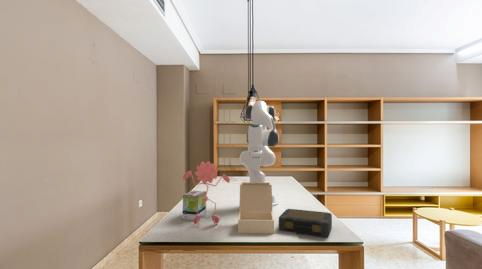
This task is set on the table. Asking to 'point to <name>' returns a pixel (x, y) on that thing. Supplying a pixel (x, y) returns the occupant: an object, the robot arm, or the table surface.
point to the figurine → (206, 175)
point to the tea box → (193, 204)
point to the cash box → (306, 222)
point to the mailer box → (255, 222)
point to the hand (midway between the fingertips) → (255, 177)
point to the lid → (255, 197)
